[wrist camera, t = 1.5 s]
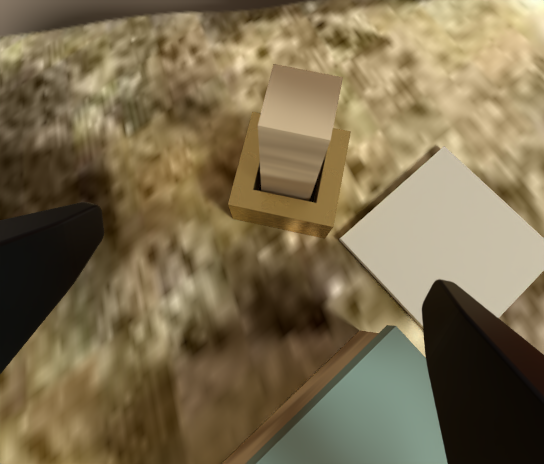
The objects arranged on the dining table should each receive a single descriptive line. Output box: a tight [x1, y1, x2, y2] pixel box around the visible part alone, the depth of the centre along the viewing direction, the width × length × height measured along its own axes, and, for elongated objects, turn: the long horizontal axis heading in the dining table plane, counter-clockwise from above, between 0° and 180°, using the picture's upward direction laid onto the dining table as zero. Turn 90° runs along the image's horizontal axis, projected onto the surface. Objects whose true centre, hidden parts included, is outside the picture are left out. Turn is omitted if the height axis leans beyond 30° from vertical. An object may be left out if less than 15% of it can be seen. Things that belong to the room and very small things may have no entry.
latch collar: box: [228, 112, 351, 238], centre depth 22 cm, size 6×6×3 cm
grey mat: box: [339, 146, 544, 329], centre depth 22 cm, size 10×10×1 cm
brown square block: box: [258, 64, 343, 201], centre depth 19 cm, size 3×3×10 cm
